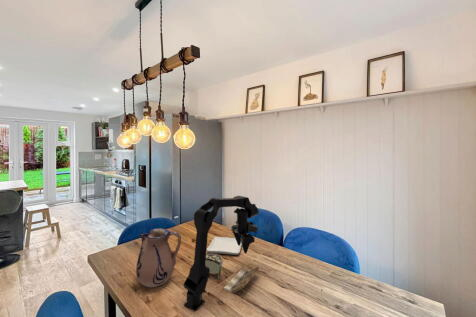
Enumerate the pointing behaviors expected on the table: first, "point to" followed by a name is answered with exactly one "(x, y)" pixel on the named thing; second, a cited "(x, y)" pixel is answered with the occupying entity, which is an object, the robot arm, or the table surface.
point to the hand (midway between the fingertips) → (242, 249)
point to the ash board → (235, 280)
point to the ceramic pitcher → (156, 257)
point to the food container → (214, 265)
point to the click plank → (245, 280)
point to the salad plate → (224, 246)
